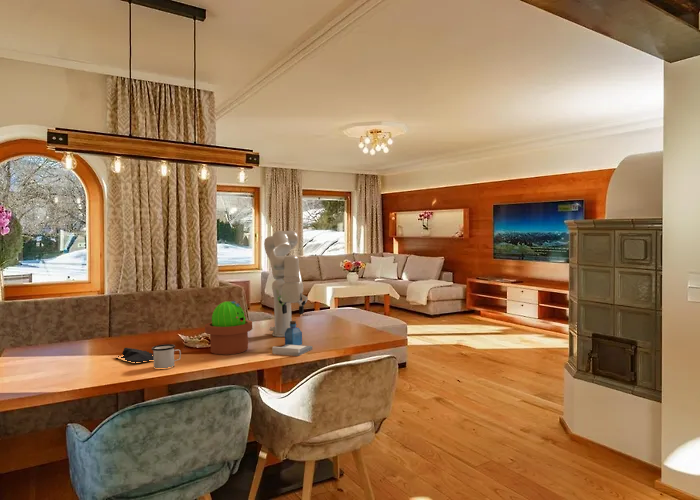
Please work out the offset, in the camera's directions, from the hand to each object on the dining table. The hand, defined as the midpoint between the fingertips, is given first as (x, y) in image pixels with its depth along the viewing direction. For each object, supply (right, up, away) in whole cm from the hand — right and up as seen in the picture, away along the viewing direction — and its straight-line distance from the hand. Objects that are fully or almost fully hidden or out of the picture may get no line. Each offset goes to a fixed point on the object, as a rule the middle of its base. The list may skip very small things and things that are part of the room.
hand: (293, 313), depth 241 cm
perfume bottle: (0, -16, +1) cm, 16 cm away
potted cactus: (-30, -17, -9) cm, 36 cm away
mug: (-50, -18, -36) cm, 65 cm away
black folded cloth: (-70, -19, -21) cm, 75 cm away
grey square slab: (+2, -16, -14) cm, 21 cm away
